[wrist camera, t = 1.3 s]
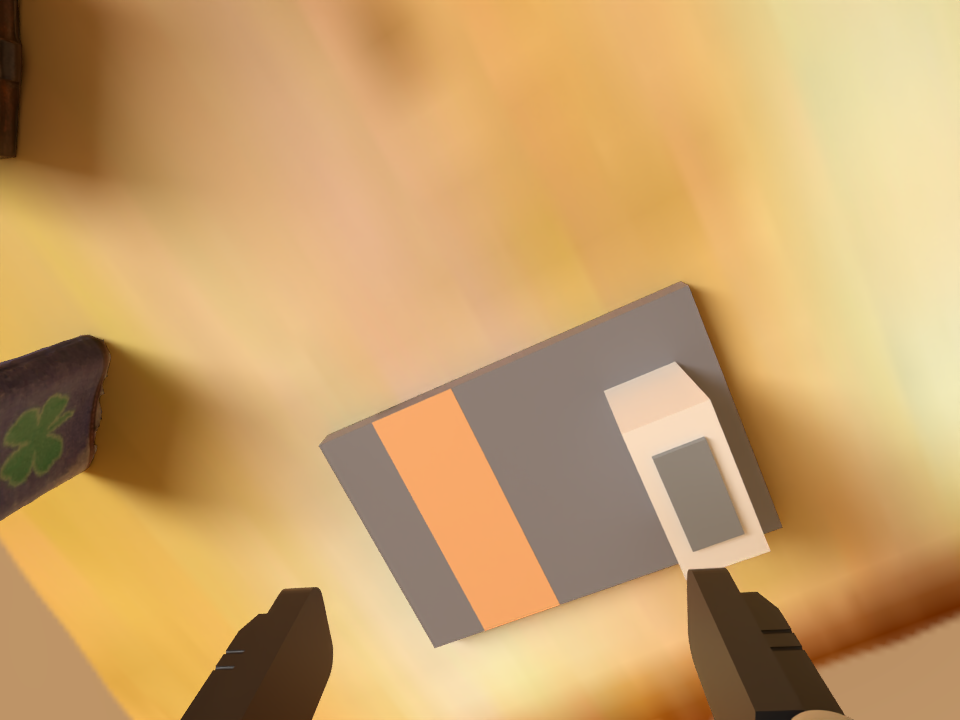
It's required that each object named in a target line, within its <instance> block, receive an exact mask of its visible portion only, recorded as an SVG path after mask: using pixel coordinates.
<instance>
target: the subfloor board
mask: <svg viewBox="0 0 960 720" xmlns="http://www.w3.org/2000/svg"><path fill="white" fill-rule="evenodd" d="M673 362H676V363H677V364H678V365H679V366H680V367H681V368H682V370H683V371H684V372H685V373H686V374H687V375H688V376H689V377H690V378H691V379H692V380H693V381H694V383H695V384H696V385H697V386H698V387H699V388H700V389H701V390H702V391H703V392H704V393H705V394H706V396H707V397H708V398H709V399H710V400H711V403H712V405H713V408H714V410H715V413H716V415H717V418H718V421H719V423H720V426H721V428H722V431H723V433H724V436H725V438H726V441H727V443H728V446H729V448H730V451H731V453H732V456H733V458H734V461H735V463H736V466H737V468H738V471H739V473H740V476H741V478H742V481H743V483H744V486H745V488H746V491H747V493H748V496H749V498H750V501H751V503H752V506H753V508H754V511H755V513H756V516H757V518H758V521H759V523H760V526H761V528H762V531H763V533H764V534H765V533H768V532H771V531H774V530H777V529H780V528H783V527H782V525H781V522H780V520H779V517H778V514H777V512H776V509H775V507H774V504H773V502H772V499H771V496H770V494H769V491H768V489H767V486H766V484H765V481H764V478H763V476H762V473H761V471H760V468H759V466H758V463H757V460H756V458H755V455H754V453H753V450H752V448H751V445H750V442H749V440H748V437H747V435H746V432H745V430H744V427H743V424H742V422H741V419H740V417H739V414H738V412H737V409H736V406H735V404H734V401H733V399H732V396H731V394H730V391H729V388H728V386H727V383H726V381H725V378H724V376H723V373H722V370H721V368H720V365H719V363H718V360H717V358H716V355H715V352H714V350H713V347H712V345H711V342H710V340H709V337H708V334H707V332H706V329H705V327H704V324H703V322H702V319H701V316H700V314H699V311H698V309H697V306H696V304H695V301H694V298H693V296H692V293H691V291H690V288H689V286H688V285H687V284H685V283H683V282H681V281H680V282H678V283H676V284H674V285H671V286H669V287H667V288H664V289H662V290H660V291H657V292H655V293H653V294H651V295H648V296H646V297H644V298H641V299H639V300H637V301H635V302H632V303H630V304H628V305H625V306H623V307H621V308H618V309H616V310H614V311H612V312H609V313H607V314H605V315H602V316H600V317H598V318H596V319H593V320H591V321H589V322H586V323H584V324H582V325H580V326H577V327H575V328H573V329H570V330H568V331H566V332H563V333H561V334H559V335H557V336H554V337H552V338H550V339H547V340H545V341H543V342H541V343H538V344H536V345H534V346H531V347H529V348H527V349H524V350H522V351H520V352H518V353H515V354H513V355H511V356H508V357H506V358H504V359H502V360H499V361H497V362H495V363H492V364H490V365H488V366H485V367H483V368H481V369H479V370H476V371H474V372H472V373H469V374H467V375H465V376H463V377H460V378H458V379H456V380H453V381H451V382H449V383H447V384H444V385H442V386H440V387H437V388H435V389H433V390H430V391H428V392H426V393H424V394H421V395H419V396H417V397H414V398H412V399H410V400H408V401H405V402H403V403H401V404H398V405H396V406H394V407H391V408H389V409H387V410H385V411H382V412H380V413H378V414H375V415H373V416H371V417H369V418H366V419H364V420H362V421H359V422H357V423H355V424H352V425H350V426H348V427H346V428H343V429H341V430H339V431H336V432H334V433H332V434H330V435H327V436H326V438H325V439H324V440H323V441H322V442H321V444H320V445H319V447H320V449H321V450H322V452H323V454H324V456H325V457H326V459H327V461H328V463H329V464H330V466H331V468H332V470H333V471H334V473H335V475H336V477H337V478H338V480H339V482H340V484H341V485H342V487H343V489H344V491H345V492H346V494H347V496H348V498H349V499H350V501H351V503H352V504H353V506H354V508H355V510H356V511H357V513H358V515H359V517H360V518H361V520H362V522H363V524H364V525H365V527H366V529H367V531H368V532H369V534H370V536H371V538H372V539H373V541H374V543H375V545H376V546H377V548H378V550H379V552H380V553H381V555H382V557H383V559H384V560H385V562H386V564H387V566H388V567H389V569H390V571H391V573H392V574H393V576H394V578H395V580H396V581H397V583H398V585H399V586H400V588H401V590H402V592H403V593H404V595H405V597H406V599H407V600H408V602H409V604H410V606H411V607H412V609H413V611H414V613H415V614H416V616H417V618H418V620H419V621H420V623H421V625H422V627H423V628H424V630H425V632H426V634H427V635H428V637H429V639H430V641H431V642H432V644H433V646H434V648H436V647H439V646H442V645H445V644H448V643H451V642H454V641H457V640H460V639H462V638H465V637H468V636H471V635H474V634H477V633H480V632H483V631H486V630H489V629H492V628H495V627H498V626H501V625H503V624H506V623H509V622H512V621H515V620H518V619H521V618H524V617H527V616H529V615H532V614H535V613H538V612H541V611H544V610H547V609H550V608H553V607H555V606H558V605H561V604H563V603H566V602H569V601H572V600H575V599H578V598H581V597H584V596H586V595H589V594H592V593H595V592H598V591H601V590H604V589H607V588H610V587H612V586H615V585H618V584H621V583H624V582H627V581H630V580H633V579H636V578H638V577H641V576H644V575H647V574H650V573H653V572H656V571H659V570H662V569H664V568H667V567H670V566H673V565H676V564H679V563H678V561H677V559H676V556H675V554H674V552H673V550H672V547H671V545H670V543H669V541H668V538H667V536H666V534H665V531H664V529H663V527H662V525H661V522H660V520H659V518H658V516H657V513H656V511H655V509H654V507H653V504H652V502H651V500H650V498H649V495H648V493H647V491H646V488H645V486H644V484H643V482H642V479H641V477H640V475H639V473H638V470H637V468H636V466H635V464H634V461H633V459H632V457H631V455H630V452H629V450H628V448H627V445H626V443H625V441H624V439H623V436H622V434H621V432H620V429H619V427H618V424H617V422H616V420H615V417H614V415H613V412H612V410H611V407H610V405H609V403H608V400H607V398H606V395H605V393H604V391H605V390H607V389H610V388H612V387H615V386H617V385H620V384H622V383H624V382H627V381H629V380H632V379H634V378H637V377H639V376H641V375H644V374H646V373H649V372H651V371H654V370H656V369H658V368H661V367H663V366H666V365H668V364H671V363H673Z"/></svg>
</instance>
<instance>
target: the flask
mask: <svg viewBox="0 0 960 720" xmlns="http://www.w3.org/2000/svg"><path fill="white" fill-rule="evenodd" d="M110 360H111V355H110V353H109V351H108V349H107V346H106V345H105V343H104V340H100V339H98V338H95V337H93V336H90V335H80V336H79V337H76V338H73V339H70V340H66V341H63V342H60V343H58V344H55V345H52V346H49V347H46V348H42V349H40V350H37V351H35V352H32V353H29V354H27V355H24V356H21V357H18V358H15V359H11V360H8V361H4V362H1V363H0V521H1V520H3V519H4V518H6V517H7V516H9V515H10V514H12V513H13V512H15V511H17V510H18V509H20V508H21V507H23V506H25V505H27V504H29V503H31V502H32V501H34V500H35V499H37V498H38V497H40V496H41V495H43V494H44V493H46V492H48V491H50V490H52V489H53V488H55V487H57V486H59V485H60V484H62V483H64V482H65V481H67V480H69V479H71V478H72V477H74V476H76V475H78V474H79V473H81V472H83V471H84V470H86V469H87V468H88V467H89V465H90V463H91V461H92V460H93V458H94V454H95V452H96V448H97V445H95V446H94V443H95V441H94V440H95V435H96V431H97V427H99V425H100V420H101V419H102V418H101V413H102V410H101V408H100V403H99V398H100V395H102V394H105V393H104V392H103V386H102V384H103V380H104V379H105V377H107V369H108V368H109V362H110Z"/></svg>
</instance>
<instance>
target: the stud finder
mask: <svg viewBox="0 0 960 720" xmlns="http://www.w3.org/2000/svg"><path fill="white" fill-rule="evenodd" d="M604 393H605V395H606V398H607V400H608V403H609V405H610V407H611V410H612V412H613V415H614V417H615V420H616V422H617V424H618V427H619V429H620V432H621V434H622V436H623V439H624V441H625V443H626V445H627V448H628V450H629V452H630V455H631V457H632V459H633V461H634V464H635V466H636V468H637V470H638V473H639V475H640V477H641V479H642V482H643V484H644V486H645V488H646V491H647V493H648V495H649V498H650V500H651V502H652V504H653V507H654V509H655V511H656V513H657V516H658V518H659V520H660V522H661V525H662V527H663V529H664V531H665V534H666V536H667V538H668V541H669V543H670V545H671V547H672V550H673V552H674V554H675V556H676V559H677V561H678V563H679V565H680V568H681V570H682V572H683V574H684V577H685V579H686V580H687V572H688V570H689V569H705V568H723V567H726V566H729V565H732V564H735V563H737V562H740V561H743V560H746V559H749V558H752V557H755V556H758V555H761V554H764V553H767V552H770V549H769V546H768V544H767V541H766V538H765V536H764V533H763V531H762V528H761V526H760V523H759V521H758V518H757V516H756V513H755V511H754V508H753V506H752V503H751V501H750V498H749V496H748V493H747V491H746V488H745V486H744V483H743V481H742V478H741V476H740V473H739V471H738V468H737V466H736V463H735V461H734V458H733V456H732V453H731V451H730V448H729V446H728V443H727V441H726V438H725V436H724V433H723V431H722V428H721V426H720V423H719V421H718V418H717V415H716V413H715V410H714V408H713V405H712V403H711V400H710V399H709V398H708V397H707V396H706V394H705V393H704V392H703V391H702V390H701V389H700V388H699V387H698V386H697V385H696V384H695V383H694V381H693V380H692V379H691V378H690V377H689V376H688V375H687V374H686V373H685V372H684V371H683V370H682V368H681V367H680V366H679V365H678V364H677V363H676V362H673V363H671V364H668V365H666V366H663V367H661V368H658V369H656V370H654V371H651V372H649V373H646V374H644V375H641V376H639V377H637V378H634V379H632V380H629V381H627V382H624V383H622V384H620V385H617V386H615V387H612V388H610V389H607V390H605V391H604Z"/></svg>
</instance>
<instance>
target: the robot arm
mask: <svg viewBox="0 0 960 720" xmlns="http://www.w3.org/2000/svg"><path fill="white" fill-rule="evenodd" d="M687 606H688V636H689V644H690V649H691V654H692V658H693V662H694V665H695V668H696V670H697V673H698V676H699V679H700V681H701V684H702V687H703V689H704V692H705V695H706V698H707V700H708V703H709V706H710V709H711V711H712V714H713V717H714V719H715V720H853V719H851V718H849V717H847V716H845V715H844V713H843V711H842V710H841V708H840V707H839V705H838V703H837V702H836V700H835V699H834V697H833V696H832V694H831V692H830V691H829V689H828V688H827V686H826V684H825V683H824V681H823V679H822V678H821V676H820V674H819V673H818V671H817V670H816V668H815V666H814V665H813V663H812V662H811V660H810V658H809V657H808V655H807V654H806V652H805V650H802V646H801V644H800V642H799V641H798V639H797V638H796V636H795V634H794V633H792V631H791V628H790V626H789V625H788V623H787V621H786V620H785V618H784V617H783V615H782V613H781V612H780V610H779V609H778V608H777V607H776V606H774V605H773V604H772V603H771V602H769V601H768V600H767V599H765V598H764V597H763V596H762V595H760V594H759V593H758V592H745V593H740V592H739V590H738V588H737V586H736V584H735V582H734V581H733V579H732V577H731V575H730V573H729V572H728V570H727V569H726V568H705V569H689V570H688V572H687ZM332 662H333V645H332V640H331V635H330V630H329V625H328V621H327V616H326V611H325V606H324V601H323V597H322V593H321V591H320V589H319V588H317V587H311V588H291V589H284V590H282V591H281V592H280V594H279V595H278V597H277V599H276V600H275V602H274V604H273V605H272V607H271V608H270V610H269V612H268V613H267V614H258V615H257V616H256V617H255V618H254V619H253V620H251V621H250V622H249V623H248V624H247V625H246V626H244V627H243V628H242V629H241V630H240V631H239V632H238V633H237V635H236V636H235V638H234V639H233V641H232V642H231V644H230V645H229V647H228V648H227V650H226V654H224V655H223V656H222V658H221V659H220V661H219V662H218V664H217V665H216V669H215V670H213V671H212V673H211V674H210V676H209V677H208V679H207V680H206V682H205V683H204V685H203V686H202V688H201V689H200V691H199V692H198V694H197V696H196V697H195V699H194V700H193V702H192V703H191V705H190V706H189V708H188V709H187V711H186V712H185V714H184V715H183V717H182V718H181V720H312V718H313V715H314V713H315V711H316V708H317V706H318V703H319V701H320V698H321V696H322V693H323V691H324V688H325V686H326V684H327V681H328V679H329V676H330V673H331V669H332Z"/></svg>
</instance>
